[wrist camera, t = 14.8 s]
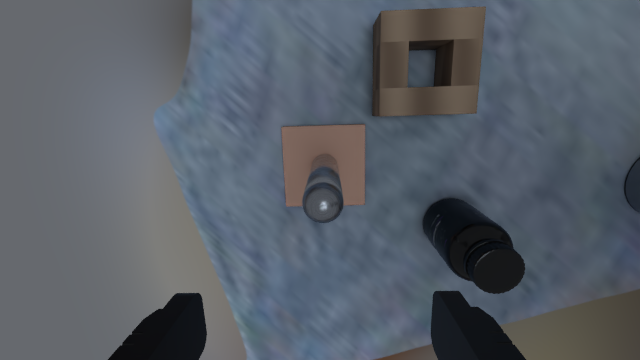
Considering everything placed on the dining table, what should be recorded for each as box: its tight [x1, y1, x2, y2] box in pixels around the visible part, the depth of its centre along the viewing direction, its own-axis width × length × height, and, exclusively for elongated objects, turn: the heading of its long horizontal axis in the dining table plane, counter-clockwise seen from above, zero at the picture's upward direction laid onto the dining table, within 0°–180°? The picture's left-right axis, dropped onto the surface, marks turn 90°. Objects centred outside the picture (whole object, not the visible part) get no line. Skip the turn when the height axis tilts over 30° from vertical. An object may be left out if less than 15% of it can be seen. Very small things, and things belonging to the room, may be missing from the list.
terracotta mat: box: [281, 124, 365, 206], centre depth 37 cm, size 10×10×1 cm
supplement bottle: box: [423, 199, 525, 294], centre depth 33 cm, size 7×7×12 cm
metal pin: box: [302, 154, 344, 223], centre depth 29 cm, size 3×3×16 cm
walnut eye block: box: [372, 7, 486, 116], centre depth 32 cm, size 10×10×5 cm
